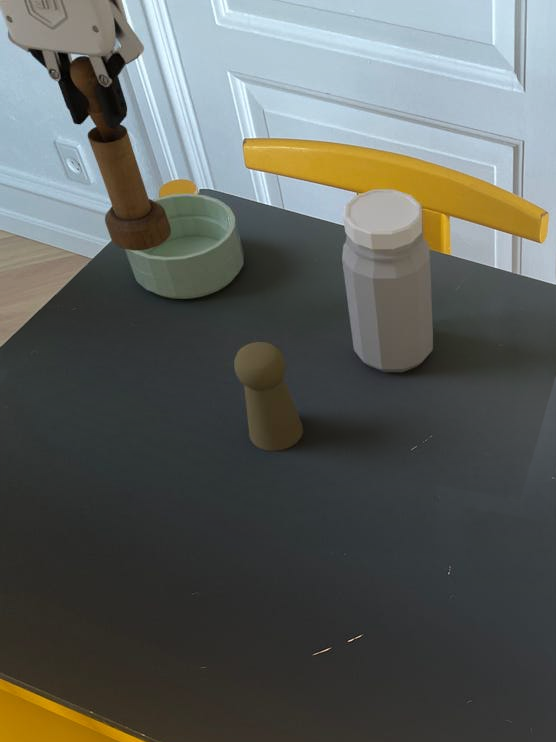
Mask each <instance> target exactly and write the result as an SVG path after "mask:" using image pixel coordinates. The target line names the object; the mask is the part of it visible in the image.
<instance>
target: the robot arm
mask: <svg viewBox="0 0 556 742" xmlns="http://www.w3.org/2000/svg"><path fill="white" fill-rule="evenodd" d="M0 12H1V14H2V18H3V21H4V23H5V26H6V28H7V38H8V40H9V41H10V42H11V43H12V44H13V45H15V46H17V47H19V48H20V49H22V50H23V51H25V52H26V53H30V55H31V57H33V58H34V59H35V60H36V61H37V62H39V64H41V65H42V67H44V68H45V69H46V70H47V73H48V75H49V77H50V79H52V80H53V81H55V82H57V84H58V87H59V89H60V92H61V95H62V97H63V100H64V105H65V106H66V108H67V110H68V111H69V114H70V116H71V120H72V122H73V124H74V125H82V124H84V123H85V121H86V120H87V118H88V117H90V115H89V113H88V111H87V109H88V107H89V101H88V99H87V97H86V96H85V95H84V94H83V93H82V92H81V91H80V90H79V89H78V88H77V87H76V85H75V84H74V83H73V81H72V79H71V76H70V65H71V63H72V61H73V58H72V55H78V56H88V57H89V59H90V61H91V64H92V66H93V69H94V71H95V74H96V76H97V79H98V81H99V84H98V85H97V86H96V92H97V95H98V98H99V101H100V104H101V108H102V111H103V114H104V117H105V120H106V123H107V126H108V127H109V128H111V129H116V128H117V127H118V126H119V125H121V124H122V122H123V121H124V120H125V119H126V118H127V115H128V105H127V100H126V97H125V95H124V91H123V88H122V85H121V80H120V78H119V75H120V74H121V73H122V71H123V69H124V68H125V66H126V65H128V64H130V63H132V62H133V61H136V60H137V59H138V58H139V57H140V56H141V55H142V54H143V53H144V51H145V47H144V44H143V43H142V41H141V40H140V39H139V37H138V36H137V34H136V32H135V31H134V30H133V28H132V27H131V25H130V24H129V22H128V19H127V15H126V10H125V7H124V3H123V0H0ZM117 42H118V44H119V45H120V46H119V47H117V48H116V49H115V47H116V45H117V44H116V43H117Z"/></svg>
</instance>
